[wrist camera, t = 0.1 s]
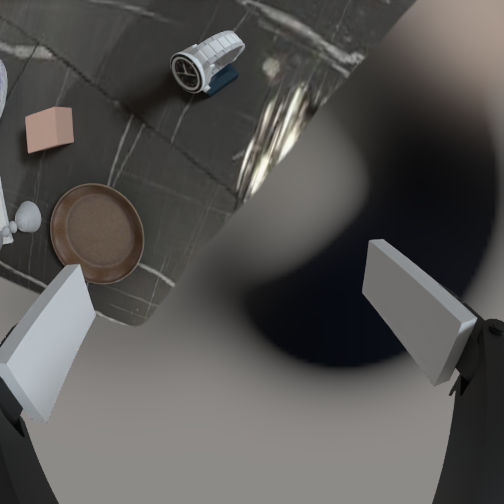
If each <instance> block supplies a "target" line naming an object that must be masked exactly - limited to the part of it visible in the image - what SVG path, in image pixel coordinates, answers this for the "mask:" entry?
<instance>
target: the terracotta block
mask: <svg viewBox="0 0 504 504" xmlns="http://www.w3.org/2000/svg"><path fill="white" fill-rule="evenodd" d="M26 134H27V146H28V153H32V152H36V151H41V150H46V149H50V148H53V147H57V146H61V145H65V144H69V143H73V142H74V139H73V126H72V108H65V107H53V108H49V109H46V110H43V111H41V112H38V113H35V114H32V115H29V116H27V117H26Z"/></svg>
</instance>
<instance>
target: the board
mask: <svg viewBox="0 0 504 504" xmlns="http://www.w3.org/2000/svg"><path fill="white" fill-rule="evenodd" d="M4 226H9V221H8V217H7V212H6V207H5V202H4V197H3V191H2V185H1V179H0V231H1V230H2V228H3V227H4ZM12 242H13V237H12V234H11V232H10V235H9V236H8V237H3V244H8V243H12Z"/></svg>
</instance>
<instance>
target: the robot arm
mask: <svg viewBox="0 0 504 504" xmlns="http://www.w3.org/2000/svg"><path fill="white" fill-rule="evenodd" d="M362 293H363V294H364V295H365V296H366V298H367V299H368V300H369V301H370V303H371V304H372V305H373V306H374V308H375V309H376V310H377V312H378V313H379V314H380V315H381V316H382V318H383V319H384V320H385V322H386V323H387V324H388V326H389V327H390V328H391V329H392V331H393V332H394V333H395V335H396V336H397V337H398V339H399V340H400V341H401V342H402V344H403V345H404V346H405V348H406V349H407V350H408V352H409V353H410V354H411V356H412V357H413V358H414V360H415V361H416V363H417V364H418V365H419V367H420V368H421V369H422V371H423V372H424V373H425V375H426V376H427V378H428V379H429V380H430V382H431V383H432V385H433V386H436V385H439V384H441V383H443V382H446V381H448V380H449V379H450V377H451V376H452V374H453V371H454V370H455V368H456V369H457V370H458V371H459V373H460V375H459V376H458V378H457V380H456V382H455V384H454V386H453V388H452V389H451V391H450V394H449V395H450V396H451V395H452V394H453V392H454V391H455V390H456V393H455V403H454V410H453V417H452V423H451V429H450V435H449V440H448V446H447V451H446V455H445V459H444V464H443V468H442V472H441V476H440V479H439V483H438V486H437V490H436V493H435V496H434V500H433V503H432V504H504V322H502V321H500V320H497V319H488V320H486V321H485V320H483V318H482V317H480V316H479V315H478V314H477V313H476V312H475V311H474V310H473V309H472V308H471V307H469V306H468V305H467V304H466V303H464V302H463V300H462V299H460V298H459V297H457V295H456V294H455V293H453V292H452V291H451V290H450V289H448V288H446V287H444V286H442V285H440V284H438V283H437V282H436V281H435V280H433V279H432V278H431V277H430V276H429V275H427V274H426V273H425V272H424V271H423V270H421V269H420V268H419V267H418V266H416V265H415V264H414V263H413V262H411V261H410V260H409V259H408V258H406V257H405V256H404V255H403V254H401V253H400V252H399V251H398V250H396V249H395V248H394V247H392V246H391V245H390V244H388V243H387V242H386V241H385V240H383V239H381V240H369V246H368V255H367V262H366V269H365V277H364V283H363V290H362ZM95 316H96V315H95V312H94V309H93V306H92V303H91V300H90V297H89V293H88V290H87V287H86V284H85V280H84V277H83V273H82V270H81V266H80V264H74V265H66V266H65V267H64V268H63V270H62V271H61V272H60V273H59V274H58V275H57V276H56V277H55V279H54V280H53V281H52V282H51V283H50V284H49V285H48V287H47V288H46V289H45V290H44V291H43V293H42V294H41V295H40V296H39V297H38V299H37V300H36V301H35V302H34V304H33V305H32V306H31V307H30V309H29V310H28V311H27V312H26V314H25V315H24V316H23V317H22V319H21V320H20V321H19V322H18V323H17V324H16V325H15V326H14V327H12V329H11V330H10V331H9V333H8V334H7V335H6V338H4V339H3V341H2V342H1V344H0V504H59V503H58V501H57V499H56V497H55V495H54V493H53V492H52V489H51V487H50V485H49V483H48V481H47V479H46V477H45V474H44V472H43V470H42V467H41V465H40V463H39V460H38V458H37V455H36V453H35V450H34V448H33V445H32V442H31V440H30V437H29V434H28V431H27V428H26V425H25V422H24V421H23V419H22V417H21V416H20V414H21V412H22V410H23V409H24V411H25V412H26V413H27V415H28V416H29V417H30V418H31V419H32V420H36V421H41V422H46V423H47V422H48V419H49V417H50V414H51V411H52V409H53V406H54V404H55V401H56V399H57V397H58V394H59V392H60V389H61V387H62V385H63V382H64V380H65V378H66V375H67V373H68V371H69V369H70V367H71V364H72V362H73V360H74V358H75V356H76V354H77V352H78V349H79V347H80V345H81V343H82V341H83V339H84V337H85V335H86V333H87V331H88V329H89V327H90V325H91V323H92V321H93V319H94V317H95Z"/></svg>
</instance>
